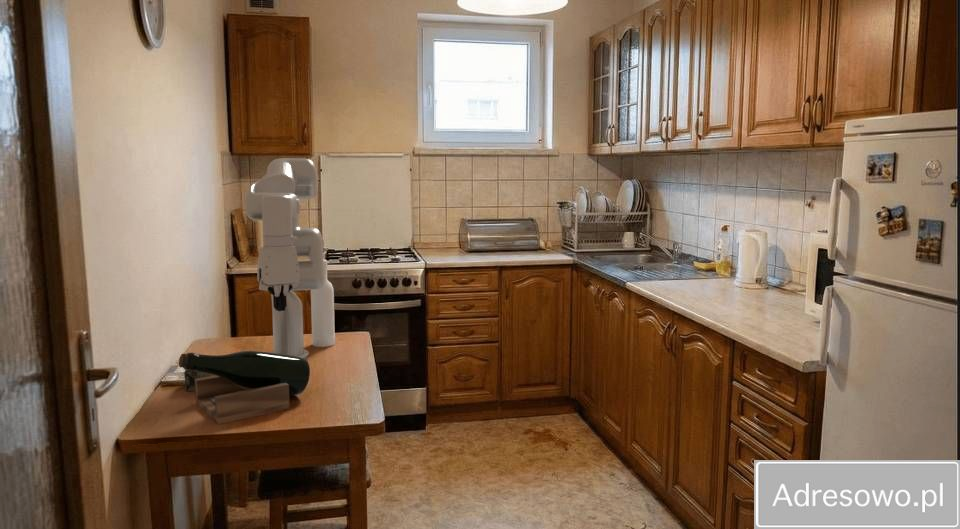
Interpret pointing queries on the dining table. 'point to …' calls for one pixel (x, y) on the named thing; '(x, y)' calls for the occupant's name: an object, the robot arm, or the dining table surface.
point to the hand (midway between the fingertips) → (280, 310)
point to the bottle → (323, 314)
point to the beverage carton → (193, 378)
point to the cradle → (238, 399)
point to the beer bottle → (252, 369)
